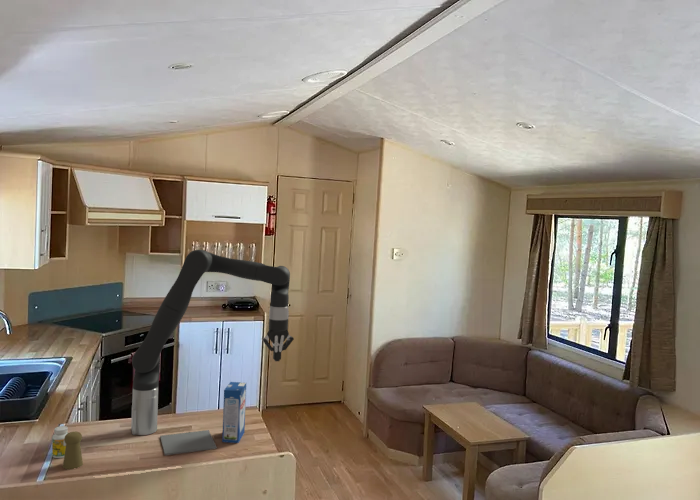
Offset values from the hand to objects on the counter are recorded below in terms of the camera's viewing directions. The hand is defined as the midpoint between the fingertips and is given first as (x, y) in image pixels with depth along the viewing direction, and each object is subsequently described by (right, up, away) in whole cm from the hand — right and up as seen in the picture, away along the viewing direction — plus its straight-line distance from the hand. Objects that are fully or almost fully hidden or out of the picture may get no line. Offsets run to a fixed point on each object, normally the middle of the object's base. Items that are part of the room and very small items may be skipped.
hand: (276, 360), depth 216 cm
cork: (-64, -28, -33) cm, 77 cm away
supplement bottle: (-71, -27, -26) cm, 80 cm away
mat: (-31, -28, -12) cm, 44 cm away
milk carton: (-16, -29, -4) cm, 33 cm away
